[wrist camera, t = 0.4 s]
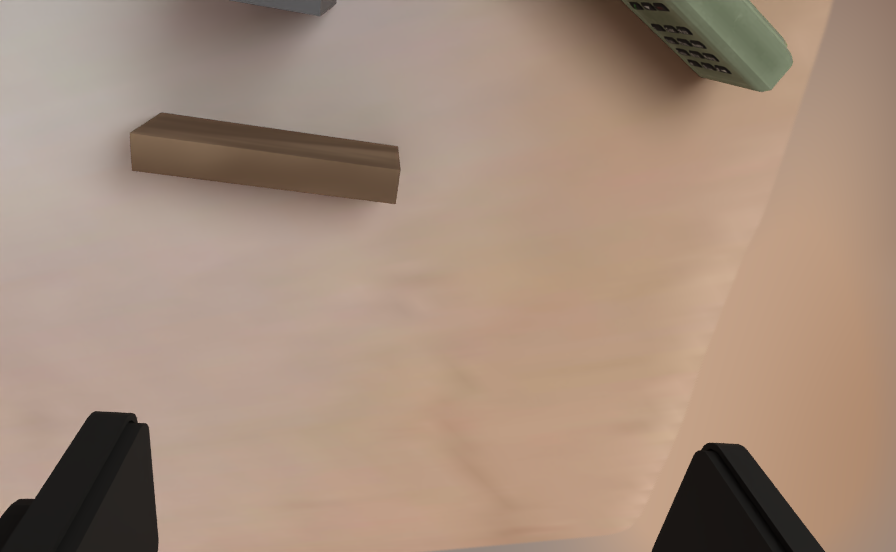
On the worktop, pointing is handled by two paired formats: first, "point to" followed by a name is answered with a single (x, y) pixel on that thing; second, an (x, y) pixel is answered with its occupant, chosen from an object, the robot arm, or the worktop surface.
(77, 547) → the robot arm
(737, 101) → the worktop surface
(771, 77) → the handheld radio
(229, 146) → the bar
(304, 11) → the domino
